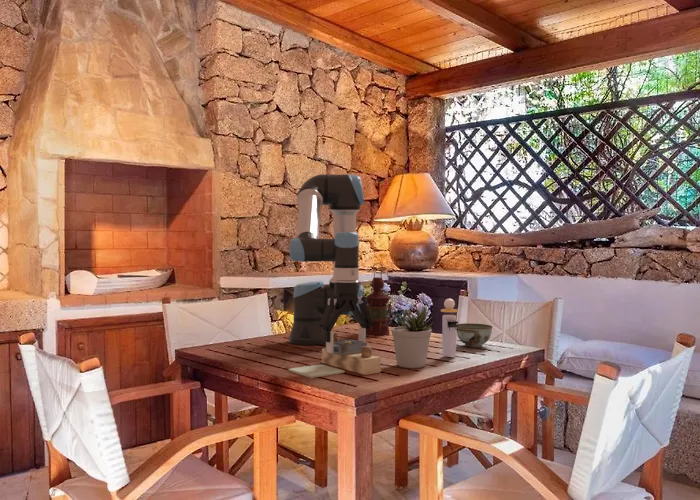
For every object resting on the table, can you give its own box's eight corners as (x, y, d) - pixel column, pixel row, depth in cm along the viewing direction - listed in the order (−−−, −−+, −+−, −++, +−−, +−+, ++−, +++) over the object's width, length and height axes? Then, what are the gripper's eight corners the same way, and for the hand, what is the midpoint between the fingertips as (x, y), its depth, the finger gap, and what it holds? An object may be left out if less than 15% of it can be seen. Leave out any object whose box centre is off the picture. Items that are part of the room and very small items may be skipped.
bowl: (477, 351, 217) (477, 329, 217) (447, 346, 227) (448, 325, 227) (499, 347, 226) (499, 325, 226) (470, 342, 236) (470, 322, 236)
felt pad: (288, 370, 183) (288, 368, 183) (321, 366, 190) (321, 364, 190) (311, 378, 173) (311, 375, 173) (344, 372, 181) (344, 370, 181)
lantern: (382, 337, 248) (382, 264, 248) (357, 334, 255) (357, 263, 255) (396, 333, 259) (397, 263, 258) (372, 331, 265) (372, 262, 265)
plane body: (321, 362, 195) (321, 333, 195) (336, 360, 199) (336, 331, 199) (365, 374, 178) (365, 342, 178) (380, 372, 182) (380, 340, 181)
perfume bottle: (437, 356, 207) (437, 298, 206) (450, 355, 209) (451, 297, 209) (447, 359, 202) (447, 299, 201) (461, 358, 204) (461, 298, 204)
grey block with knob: (325, 351, 190) (325, 341, 190) (351, 348, 196) (351, 338, 196) (341, 355, 184) (341, 344, 184) (366, 352, 190) (366, 341, 190)
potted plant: (405, 372, 182) (405, 305, 182) (384, 363, 195) (384, 301, 194) (441, 368, 187) (441, 303, 187) (418, 360, 200) (419, 299, 199)
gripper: (321, 283, 179) (321, 356, 179) (383, 280, 194) (383, 348, 194) (307, 282, 185) (307, 352, 185) (368, 279, 200) (368, 344, 200)
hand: (346, 350), depth 190 cm, fingers open, 12 cm apart
